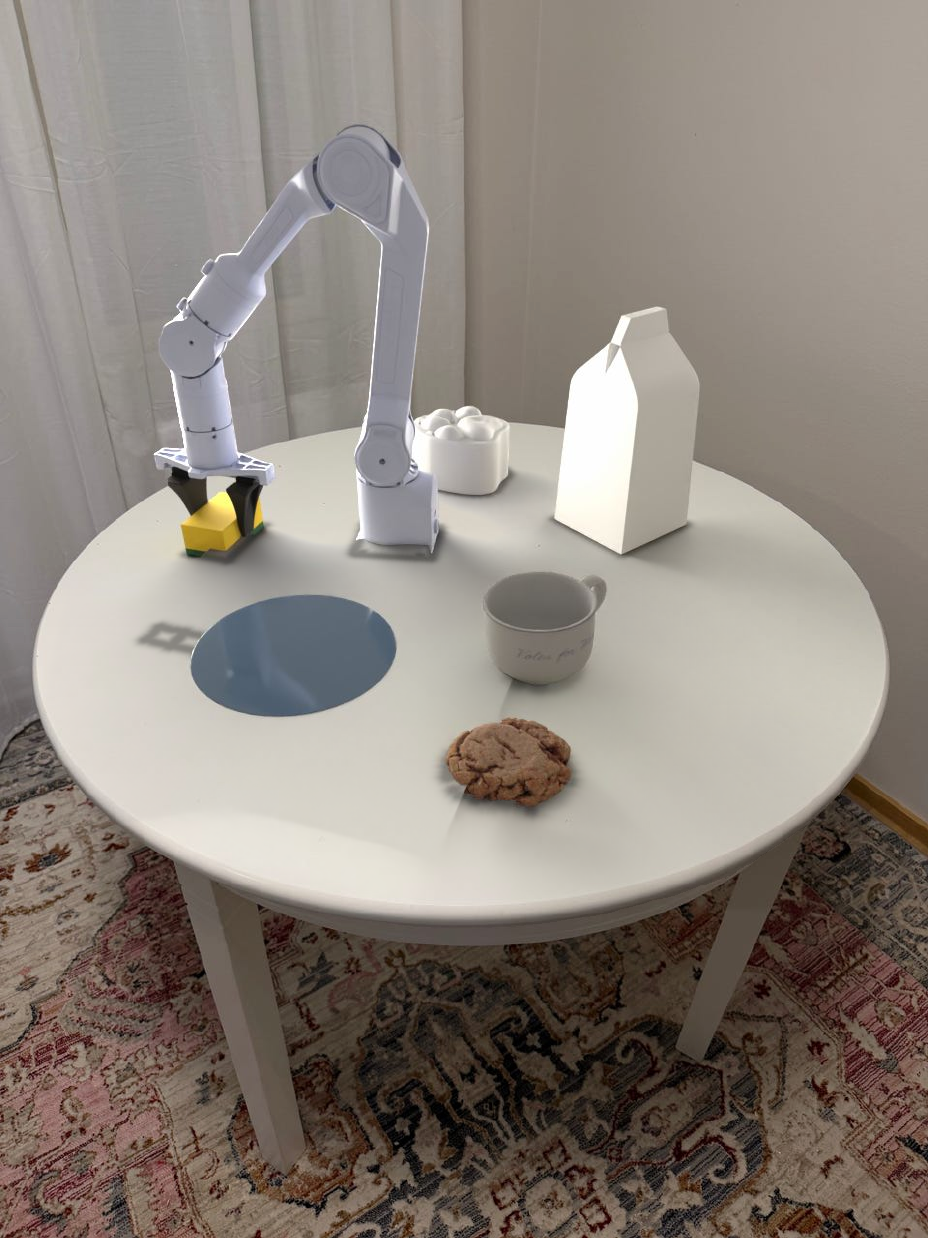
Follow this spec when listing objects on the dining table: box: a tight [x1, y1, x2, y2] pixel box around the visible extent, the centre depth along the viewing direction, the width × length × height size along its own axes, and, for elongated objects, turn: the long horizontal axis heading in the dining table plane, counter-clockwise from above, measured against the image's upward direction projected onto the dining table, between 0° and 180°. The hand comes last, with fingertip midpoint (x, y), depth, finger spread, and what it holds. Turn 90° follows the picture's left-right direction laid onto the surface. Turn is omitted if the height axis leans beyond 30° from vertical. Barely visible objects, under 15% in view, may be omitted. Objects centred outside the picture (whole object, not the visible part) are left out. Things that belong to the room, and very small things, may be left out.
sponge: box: [180, 491, 265, 557], centre depth 106 cm, size 6×9×4 cm, turn 163°
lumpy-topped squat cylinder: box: [412, 405, 511, 496], centre depth 120 cm, size 10×13×9 cm
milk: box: [553, 305, 701, 555], centre depth 104 cm, size 12×12×26 cm
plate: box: [189, 593, 397, 718], centre depth 87 cm, size 20×20×1 cm
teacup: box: [481, 571, 608, 685], centre depth 85 cm, size 14×11×8 cm
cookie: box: [445, 717, 572, 807], centre depth 74 cm, size 10×11×3 cm
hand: (224, 528), depth 107 cm, fingers closed on sponge, 5 cm apart
